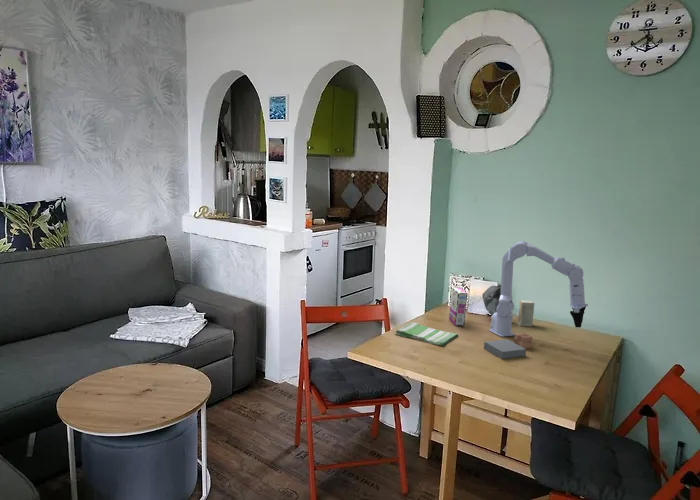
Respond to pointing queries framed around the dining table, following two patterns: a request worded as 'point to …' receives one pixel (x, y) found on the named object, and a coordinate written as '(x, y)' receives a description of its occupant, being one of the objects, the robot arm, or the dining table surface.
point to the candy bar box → (458, 306)
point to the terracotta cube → (523, 340)
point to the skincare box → (526, 313)
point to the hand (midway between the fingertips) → (578, 324)
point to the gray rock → (492, 298)
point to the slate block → (504, 348)
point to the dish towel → (426, 334)
